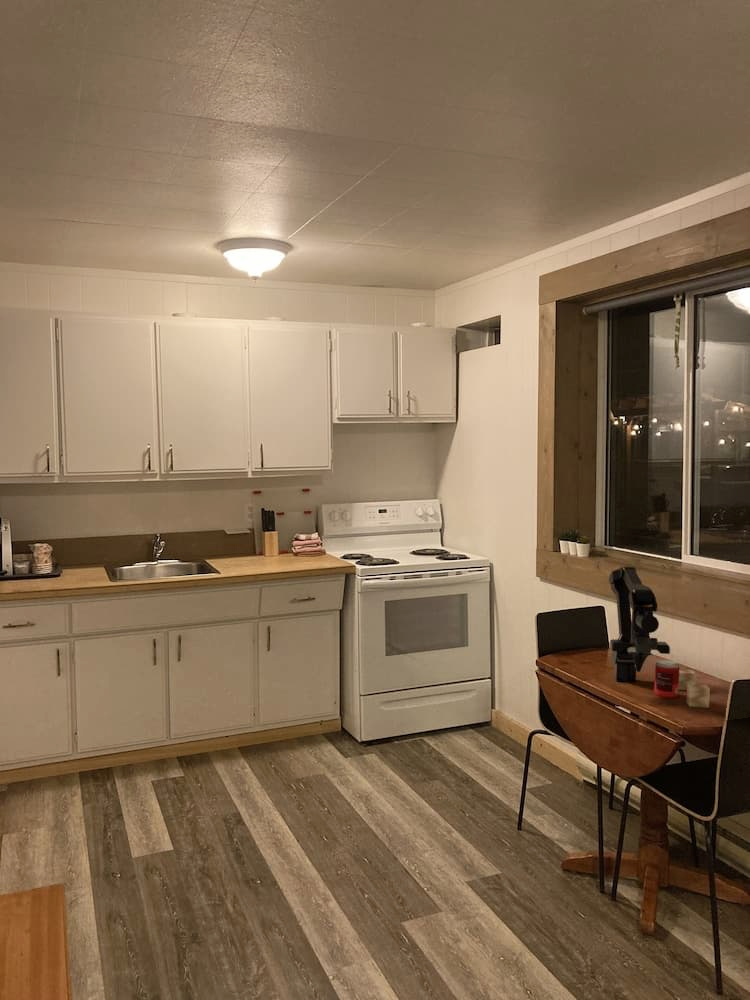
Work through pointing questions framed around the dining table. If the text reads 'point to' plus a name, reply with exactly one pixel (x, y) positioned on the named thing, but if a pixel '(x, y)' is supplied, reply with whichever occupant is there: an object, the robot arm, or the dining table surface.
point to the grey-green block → (686, 678)
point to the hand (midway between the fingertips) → (638, 671)
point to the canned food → (666, 679)
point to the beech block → (698, 695)
